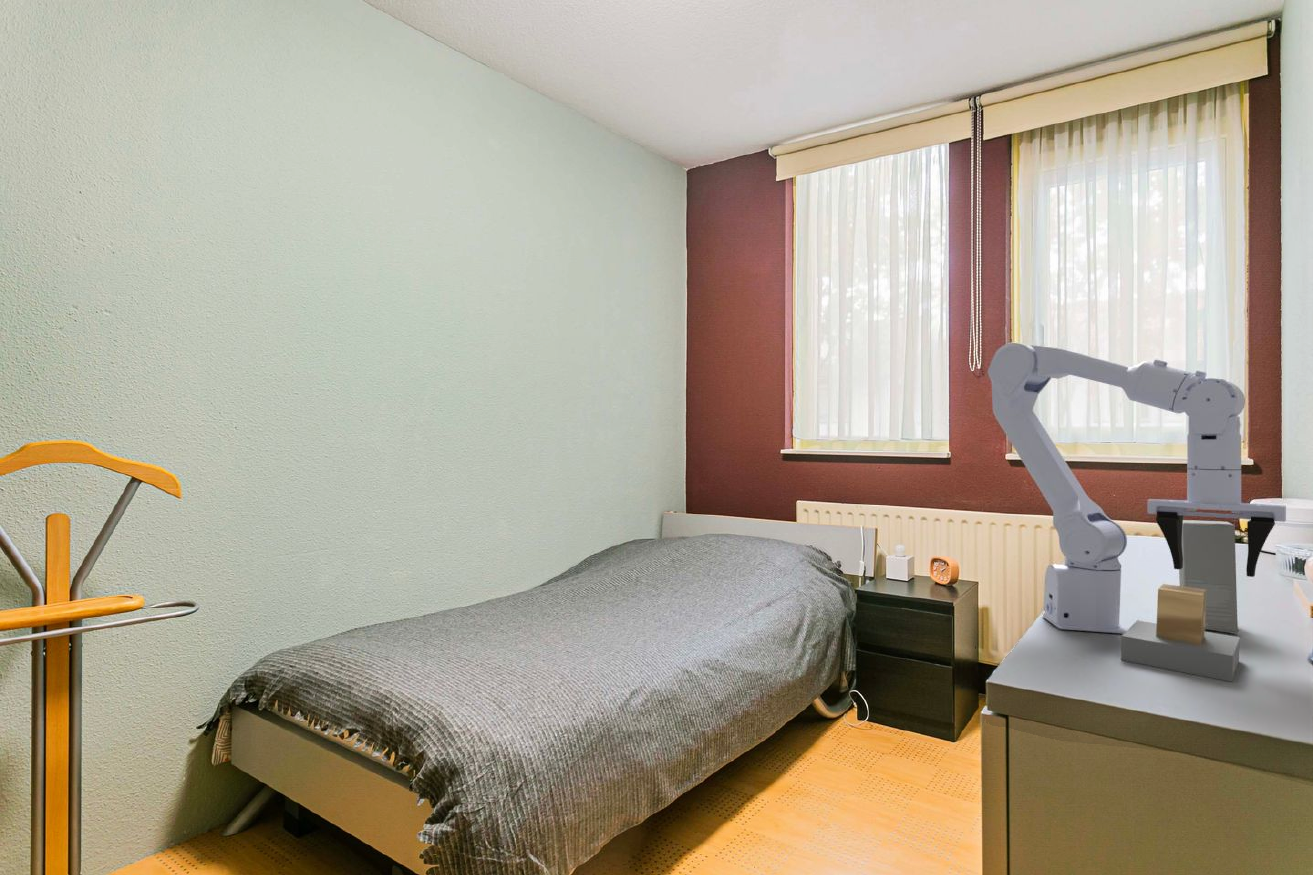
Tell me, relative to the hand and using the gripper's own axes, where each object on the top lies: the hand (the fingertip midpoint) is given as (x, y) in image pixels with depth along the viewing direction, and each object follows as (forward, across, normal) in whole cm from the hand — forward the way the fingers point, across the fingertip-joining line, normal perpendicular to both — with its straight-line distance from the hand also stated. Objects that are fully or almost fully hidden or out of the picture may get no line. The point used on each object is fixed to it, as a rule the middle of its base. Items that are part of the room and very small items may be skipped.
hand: (1213, 571), depth 97 cm
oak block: (+7, -2, -9) cm, 12 cm away
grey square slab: (+10, -2, -9) cm, 14 cm away
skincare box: (+10, -3, +16) cm, 19 cm away
